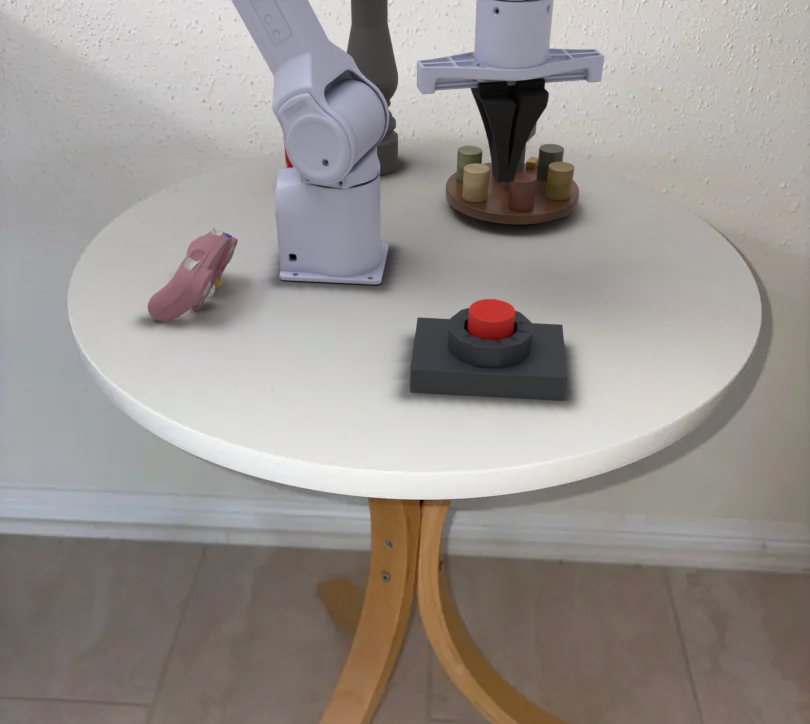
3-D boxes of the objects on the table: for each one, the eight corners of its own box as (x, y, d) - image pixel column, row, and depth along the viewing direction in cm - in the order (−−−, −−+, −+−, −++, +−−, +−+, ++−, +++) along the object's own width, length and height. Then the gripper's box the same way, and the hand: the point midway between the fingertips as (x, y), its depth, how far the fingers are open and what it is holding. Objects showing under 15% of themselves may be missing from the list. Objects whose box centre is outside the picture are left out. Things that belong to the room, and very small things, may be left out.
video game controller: (189, 343, 79) (214, 281, 74) (141, 317, 78) (163, 252, 74) (228, 290, 86) (252, 229, 82) (184, 265, 85) (206, 203, 81)
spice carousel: (553, 235, 89) (565, 143, 83) (423, 208, 94) (426, 119, 88) (594, 184, 99) (607, 98, 93) (475, 162, 103) (480, 78, 97)
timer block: (409, 393, 71) (410, 348, 69) (417, 340, 77) (417, 297, 74) (563, 401, 71) (570, 357, 68) (559, 347, 76) (565, 304, 74)
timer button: (466, 340, 70) (468, 320, 69) (468, 317, 73) (469, 297, 72) (513, 343, 70) (515, 322, 69) (513, 319, 73) (515, 299, 71)
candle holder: (408, 162, 106) (412, -97, 89) (379, 180, 102) (376, -88, 85) (364, 151, 108) (359, -103, 91) (334, 168, 104) (323, -95, 87)
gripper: (590, -24, 71) (570, 153, 80) (408, -15, 69) (409, 166, 78) (623, -3, 66) (597, 184, 75) (428, 8, 64) (426, 198, 73)
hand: (503, 177), depth 76 cm, fingers closed
